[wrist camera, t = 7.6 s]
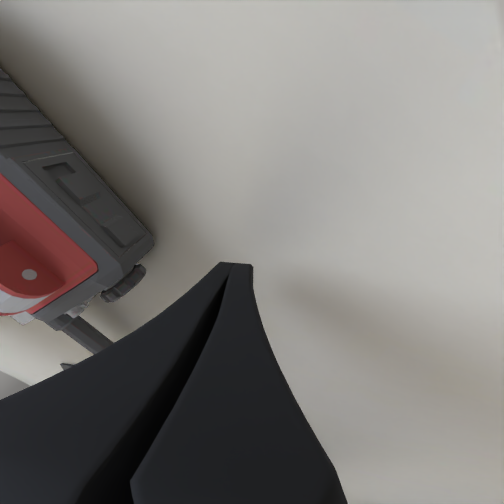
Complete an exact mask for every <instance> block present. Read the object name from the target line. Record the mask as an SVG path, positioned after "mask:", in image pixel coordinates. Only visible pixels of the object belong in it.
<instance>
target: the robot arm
mask: <svg viewBox="0 0 504 504" xmlns="http://www.w3.org/2000/svg"><path fill="white" fill-rule="evenodd" d="M0 504H348V503H347V500H346V497H345V495H344V492H343V489H342V486H341V483H340V481H339V478H338V475H337V472H336V470H335V468H334V466H333V464H332V462H331V461H330V459H329V457H328V456H327V454H326V452H325V451H324V449H323V447H322V446H321V444H320V442H319V441H318V439H317V437H316V435H315V434H314V432H313V430H312V428H311V427H310V425H309V423H308V421H307V420H306V418H305V416H304V414H303V412H302V410H301V409H300V407H299V405H298V403H297V401H296V399H295V397H294V396H293V394H292V392H291V390H290V388H289V385H288V383H287V381H286V379H285V377H284V375H283V373H282V371H281V369H280V367H279V365H278V363H277V361H276V358H275V356H274V353H273V351H272V349H271V346H270V344H269V341H268V339H267V336H266V333H265V331H264V328H263V325H262V322H261V318H260V315H259V312H258V308H257V304H256V300H255V295H254V290H253V266H252V265H251V264H241V263H229V262H220V263H218V264H217V265H216V266H215V267H214V268H213V269H212V270H211V271H210V272H209V273H208V274H207V275H205V276H204V277H203V278H202V279H201V280H200V281H199V282H198V283H197V284H196V285H195V286H193V287H192V288H191V289H190V290H189V291H188V292H187V293H185V294H184V295H183V296H182V297H181V298H179V299H178V300H177V301H176V302H174V303H173V304H172V305H171V306H169V307H168V308H167V309H166V310H164V311H163V312H162V313H160V314H159V315H158V316H156V317H155V318H153V319H152V320H150V321H149V322H147V323H146V324H144V325H143V326H141V327H140V328H138V329H137V330H135V331H134V332H132V333H130V334H129V335H127V336H125V337H124V338H122V339H120V340H119V341H117V342H115V343H114V344H112V345H110V346H108V347H107V348H105V349H103V350H102V351H100V352H98V353H96V354H94V355H93V356H91V357H89V358H87V359H85V360H83V361H81V362H79V363H78V364H76V365H74V366H72V367H70V368H68V369H66V370H64V371H62V372H60V373H58V374H56V375H54V376H52V377H50V378H47V379H45V380H43V381H41V382H39V383H37V384H35V385H33V386H30V387H28V388H26V389H24V390H22V391H19V392H17V393H15V394H13V395H10V396H8V397H6V398H4V399H2V400H0Z"/></svg>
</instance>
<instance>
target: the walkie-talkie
mask: <svg viewBox="0 0 504 504" xmlns="http://www.w3.org/2000/svg"><path fill="white" fill-rule="evenodd" d="M153 246H154V242H153V237H152V234H151V233H150V232H149V231H148V230H147V229H146V228H145V227H144V226H143V224H142V223H141V222H140V221H139V220H138V219H137V218H136V217H135V216H134V214H133V213H132V212H131V211H130V210H129V209H128V208H127V207H126V206H125V204H124V203H123V202H122V201H121V200H120V199H119V198H118V197H117V196H116V194H115V193H114V192H113V191H112V190H111V189H110V188H109V187H108V186H107V184H106V183H105V182H104V181H103V180H102V179H101V178H100V177H99V176H98V174H97V173H96V172H95V171H94V170H93V169H92V168H91V167H90V166H89V164H88V163H87V162H86V161H85V160H84V159H83V158H82V157H81V156H80V154H79V153H78V152H77V151H76V150H75V149H74V148H73V147H71V146H70V145H69V144H68V142H67V141H66V140H65V138H64V137H63V136H62V134H59V132H58V131H57V130H56V129H55V128H54V127H53V125H52V123H51V122H50V121H49V120H47V119H46V118H45V117H44V116H43V115H42V114H41V112H40V110H39V109H38V108H37V107H36V106H35V105H33V104H32V103H31V102H30V100H29V99H28V98H27V97H26V94H25V93H24V92H23V91H22V90H20V89H19V88H18V87H17V86H16V85H15V84H14V83H13V81H12V79H11V78H10V77H9V76H8V75H7V74H5V73H4V71H3V70H2V69H1V68H0V316H6V315H9V316H10V317H12V318H13V319H14V320H16V321H17V322H19V323H20V324H21V325H25V324H26V323H28V322H30V321H31V320H33V319H34V318H36V319H39V320H42V321H44V322H45V323H46V324H48V325H49V326H50V327H52V328H53V329H54V330H56V331H59V330H62V331H63V332H64V333H66V334H67V335H69V336H70V337H71V338H73V339H74V340H75V341H77V342H78V343H79V344H81V345H82V346H83V347H85V348H86V349H88V350H89V351H90V352H92V353H93V354H96V353H98V352H100V351H102V350H103V349H105V348H107V347H108V346H110V345H112V344H114V343H113V342H112V341H110V340H109V339H108V338H107V337H105V336H104V335H103V334H102V333H100V332H99V331H98V330H97V329H95V328H94V327H93V326H91V325H90V324H89V323H88V322H86V321H85V320H84V319H83V318H81V317H80V316H79V314H81V313H82V312H83V311H84V308H85V307H86V308H87V307H88V306H89V304H87V303H88V302H90V301H91V300H92V297H95V296H96V294H97V293H99V292H101V291H102V293H101V298H102V299H103V300H104V301H105V302H108V303H109V302H114V301H116V300H118V299H120V298H121V297H122V296H124V295H125V294H126V293H127V292H129V291H130V290H131V289H132V288H133V287H135V286H136V285H137V284H138V283H139V282H140V281H141V280H142V278H143V277H144V276H145V273H146V269H145V268H144V267H143V266H142V265H141V264H138V265H135V264H136V263H137V262H138V261H139V260H140V259H141V258H142V257H143V256H144V255H145V254H146V253H147V252H148V251H149V250H150V249H151V248H152V247H153Z"/></svg>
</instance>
